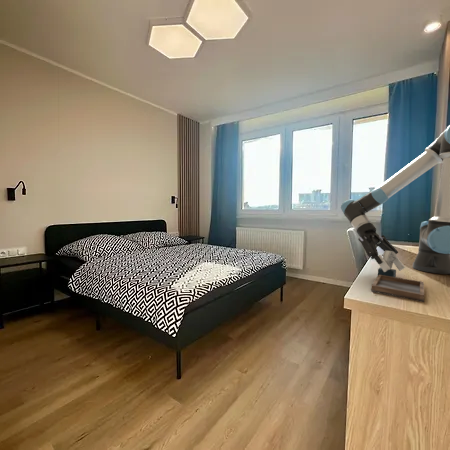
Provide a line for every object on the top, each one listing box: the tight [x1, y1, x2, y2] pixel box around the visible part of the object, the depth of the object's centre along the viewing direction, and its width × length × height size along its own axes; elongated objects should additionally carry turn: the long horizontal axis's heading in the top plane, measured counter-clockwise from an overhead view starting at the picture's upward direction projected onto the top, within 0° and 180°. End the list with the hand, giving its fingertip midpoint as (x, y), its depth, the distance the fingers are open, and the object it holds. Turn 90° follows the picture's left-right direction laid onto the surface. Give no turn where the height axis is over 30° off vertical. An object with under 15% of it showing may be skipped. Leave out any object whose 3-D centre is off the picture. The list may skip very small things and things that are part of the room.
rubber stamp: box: [377, 250, 398, 277], centre depth 103 cm, size 6×8×11 cm
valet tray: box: [370, 274, 425, 303], centre depth 86 cm, size 18×14×2 cm
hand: (394, 269), depth 100 cm, fingers closed on rubber stamp, 8 cm apart
